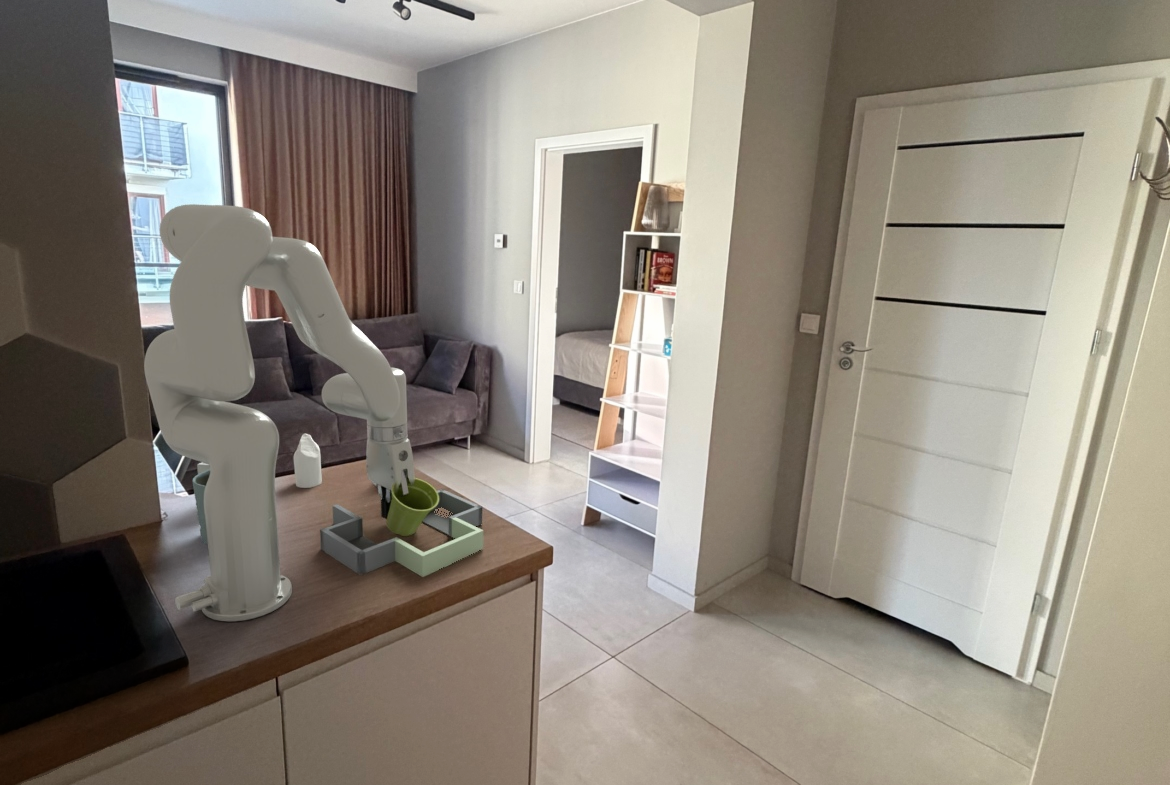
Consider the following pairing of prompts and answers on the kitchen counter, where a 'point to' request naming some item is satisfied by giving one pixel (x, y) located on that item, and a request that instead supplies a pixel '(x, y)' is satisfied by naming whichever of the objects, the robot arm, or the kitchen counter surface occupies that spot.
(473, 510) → the grey low walled frame
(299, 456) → the white broken column
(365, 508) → the kitchen counter surface
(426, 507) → the plant pot
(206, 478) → the sage green cup
